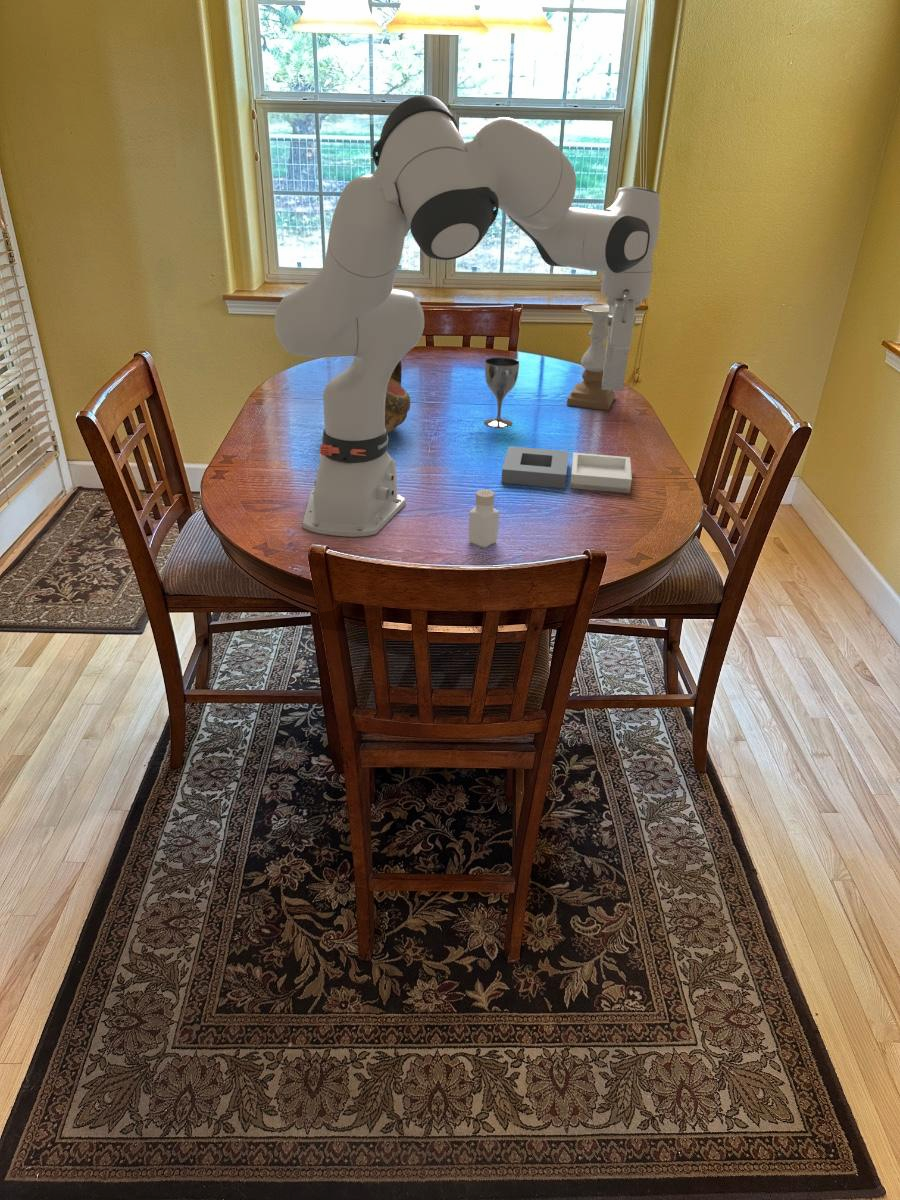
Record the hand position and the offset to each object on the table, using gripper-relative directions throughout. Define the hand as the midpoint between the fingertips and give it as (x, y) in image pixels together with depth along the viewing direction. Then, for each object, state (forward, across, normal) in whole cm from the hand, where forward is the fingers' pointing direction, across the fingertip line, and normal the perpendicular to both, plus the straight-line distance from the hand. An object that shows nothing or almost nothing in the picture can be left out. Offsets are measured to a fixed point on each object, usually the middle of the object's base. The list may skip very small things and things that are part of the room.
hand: (615, 361), depth 155 cm
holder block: (+25, 0, +14) cm, 28 cm away
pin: (+5, 0, 0) cm, 5 cm away
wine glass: (+25, +29, +24) cm, 45 cm away
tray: (+25, 0, 0) cm, 25 cm away
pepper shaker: (+25, -33, +20) cm, 46 cm away
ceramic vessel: (+25, +14, +52) cm, 60 cm away
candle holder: (+25, +51, +2) cm, 57 cm away
